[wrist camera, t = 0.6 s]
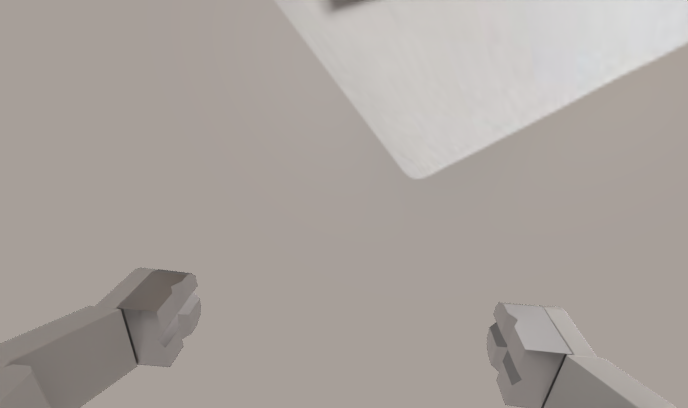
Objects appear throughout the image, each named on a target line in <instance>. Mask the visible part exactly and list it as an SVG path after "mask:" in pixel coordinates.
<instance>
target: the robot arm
mask: <svg viewBox="0 0 688 408" xmlns="http://www.w3.org/2000/svg"><path fill="white" fill-rule="evenodd" d="M196 287H197V282H196V276H195V275H193V274H192V273H184V272H176V271H168V270H159V269H158V270H155V269H148V268H138V269H135V270H134V271H133V272H131V273H130V274H129V275H128V276H127V277H126V278H125V279H124V280H123V281H122V282H121V283H120V284H119V285H117V286H116V287H115V288H114V289H113V290H112V291H111V292H110V293H109V294H108V295H107V296H106V297H104V298H103V299H102V300H101V301H100V302H99V303H98V304H97V305H96V306H88V307H85V308H83V309H80V310H78V311H76V312H73V313H71V314H69V315H66V316H64V317H62V318H59V319H57V320H54V321H52V322H50V323H48V324H45V325H43V326H40V327H38V328H36V329H33V330H31V331H28V332H26V333H24V334H21V335H19V336H17V337H15V338H12V339H10V340H7V341H5V342H3V343H0V408H80V407H81V406H83V405H84V404H86V403H87V402H88V401H90V400H91V399H93V398H94V397H95V396H97V395H98V394H100V393H101V392H102V391H104V390H105V389H107V388H108V387H109V386H111V385H112V384H113V383H115V382H116V381H117V380H119V379H120V378H122V377H123V376H125V375H126V374H127V373H129V372H130V371H131V370H133V369H134V368H136V367H137V365H150V366H162V367H170V366H171V365H172V363H173V362H174V360H175V359H176V357H177V356H178V354H179V352H180V351H181V349H182V348H183V341H182V339H183V338H185V337H186V336H188V335H190V334H191V333H192V332H193V331H194V329H195V327H196V326H197V323H198V320H199V317H200V312H201V304H200V298H199V297H198V296H197V295H196V294H195V293H194V292H193V291H194V290H195V289H196ZM494 317H495V319H496V323H495V324H493V325H492V326H491V327H490V328H489V332H488V337H487V350H488V356H489V360H490V363H491V365H492V366H493V367H494V368H495V369H496V370H497V371H499V374H498V377H497V383H498V385H499V388H500V392H501V394H502V397H503V400H504V403H505V405H510V406H517V407H524V408H677V407H676V406H674V405H672V404H671V403H670V402H668V401H666V400H665V399H664V398H662V397H661V396H659V395H658V394H656V393H655V392H653V391H652V390H650V389H649V388H647V387H646V386H645V385H643V384H642V383H640V382H639V381H637V380H636V379H634V378H633V377H631V376H630V375H628V374H627V373H625V372H624V371H622V370H621V369H619V368H618V367H616V366H615V365H613V364H612V363H610V362H609V361H608V360H606V359H604V358H598V357H597V356H596V354H595V353H594V352H593V350H592V349H591V347H590V346H589V344H588V343H587V342H586V340H585V339H584V337H583V336H582V334H581V333H580V332H579V330H578V329H577V327H576V326H575V324H574V323H573V321H572V320H571V319H570V317H569V316H568V314H567V313H566V311H565V310H564V309H562V308H561V307H555V306H541V305H539V306H534V305H523V304H511V303H500V302H499V303H498V304H497V306H496V308H495V311H494Z"/></svg>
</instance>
